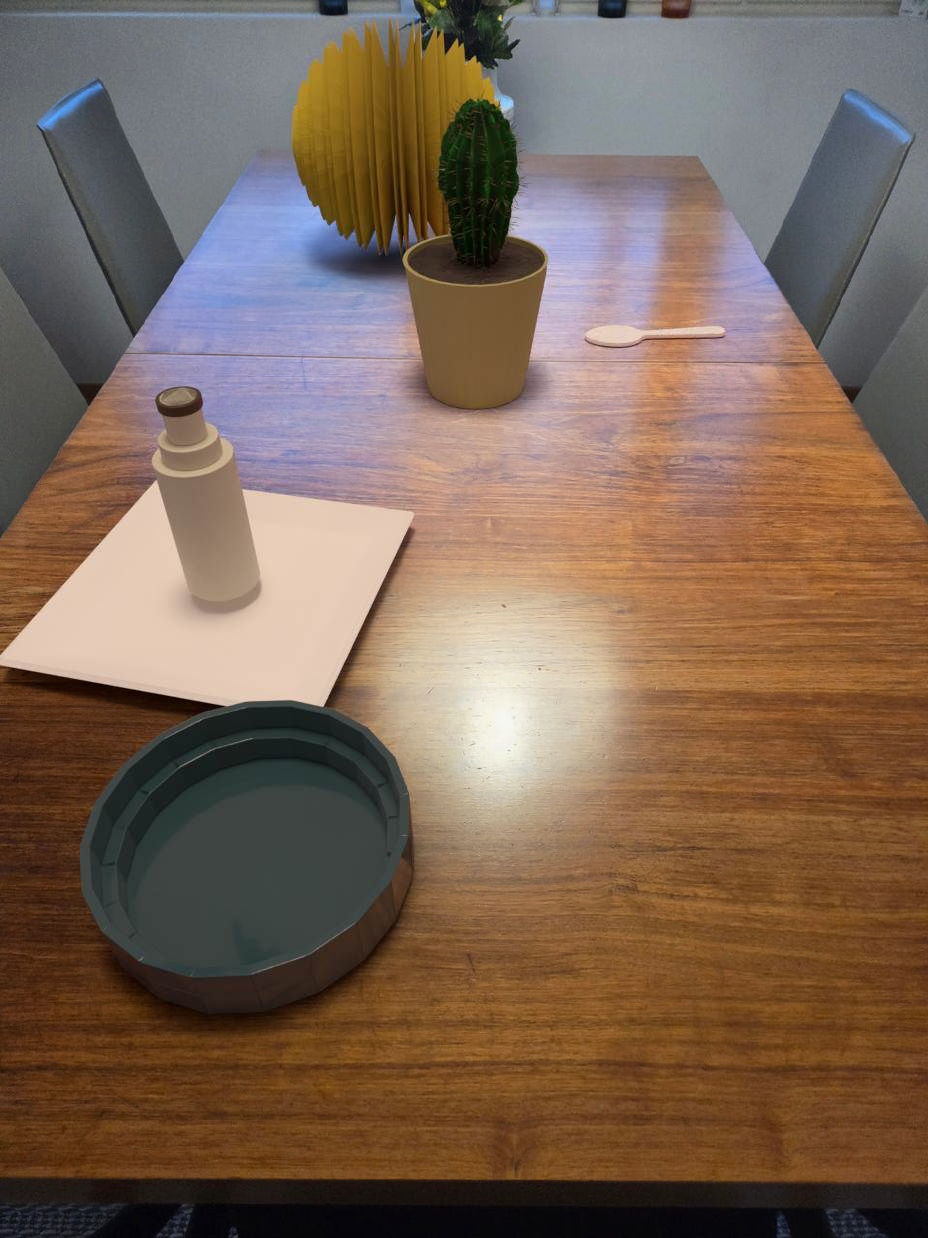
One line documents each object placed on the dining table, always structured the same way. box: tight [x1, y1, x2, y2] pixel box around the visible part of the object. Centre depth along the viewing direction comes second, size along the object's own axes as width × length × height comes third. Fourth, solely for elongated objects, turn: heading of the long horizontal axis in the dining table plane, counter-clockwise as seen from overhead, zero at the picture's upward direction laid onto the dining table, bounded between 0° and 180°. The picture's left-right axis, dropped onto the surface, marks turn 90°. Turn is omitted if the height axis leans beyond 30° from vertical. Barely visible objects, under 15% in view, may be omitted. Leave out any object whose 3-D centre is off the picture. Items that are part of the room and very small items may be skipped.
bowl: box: [79, 700, 414, 1015], centre depth 54 cm, size 19×19×5 cm
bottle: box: [151, 385, 260, 602], centre depth 68 cm, size 6×6×17 cm
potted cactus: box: [402, 89, 549, 410], centre depth 92 cm, size 15×15×30 cm
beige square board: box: [0, 479, 415, 707], centre depth 74 cm, size 26×26×2 cm
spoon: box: [584, 324, 726, 348], centre depth 111 cm, size 5×18×1 cm, turn 94°
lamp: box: [291, 15, 503, 260], centre depth 124 cm, size 30×30×30 cm
